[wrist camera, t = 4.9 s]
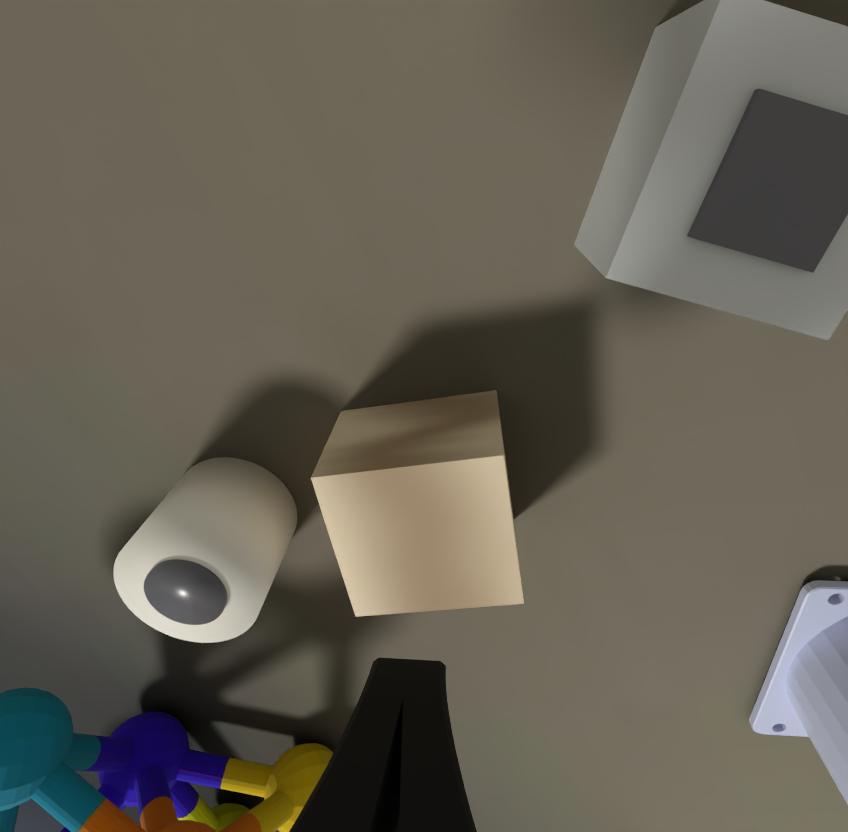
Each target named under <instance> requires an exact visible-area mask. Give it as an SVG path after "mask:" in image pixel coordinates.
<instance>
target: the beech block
mask: <svg viewBox="0 0 848 832" xmlns="http://www.w3.org/2000/svg"><path fill="white" fill-rule="evenodd" d="M311 480H312V483H313V486H314V489H315V493H316V496H317V499H318V502H319V505H320V508H321V511H322V514H323V517H324V520H325V524H326V527H327V530H328V533H329V536H330V539H331V542H332V545H333V548H334V551H335V555H336V558H337V561H338V564H339V567H340V570H341V573H342V576H343V579H344V582H345V586H346V589H347V592H348V595H349V598H350V601H351V604H352V607H353V610H354V613H355V617H359V616H372V615H385V614H397V613H410V612H423V611H435V610H448V609H461V608H473V607H486V606H499V605H512V604H524V600H523V592H522V584H521V576H520V567H519V559H518V551H517V543H516V534H515V526H514V518H513V510H512V503H511V495H510V488H509V480H508V473H507V465H506V458H505V450H504V443H503V435H502V428H501V420H500V413H499V405H498V398H497V390H494V391H487V392H479V393H472V394H464V395H457V396H449V397H442V398H434V399H427V400H419V401H412V402H405V403H397V404H390V405H382V406H375V407H367V408H360V409H352V410H345V411H341V412H340V414H339V416H338V419H337V421H336V423H335V425H334V428H333V430H332V432H331V434H330V436H329V439H328V441H327V443H326V445H325V447H324V450H323V452H322V454H321V456H320V459H319V461H318V463H317V465H316V467H315V470H314V472H313V474H312V476H311Z"/></svg>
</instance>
